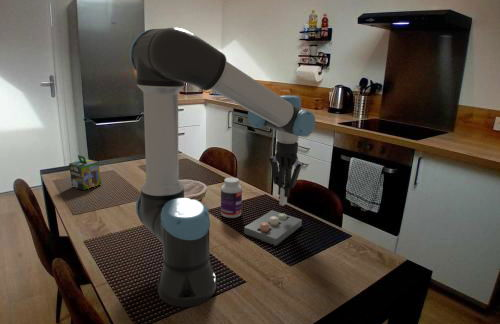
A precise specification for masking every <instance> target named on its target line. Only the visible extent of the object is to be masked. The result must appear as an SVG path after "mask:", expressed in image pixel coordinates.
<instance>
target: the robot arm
mask: <svg viewBox="0 0 500 324" xmlns="http://www.w3.org/2000/svg"><path fill="white" fill-rule="evenodd" d="M129 60H130V63H131V65H132V66H133V67H132V68H133V69H134V70H135V72H136V73H135V74H136V86H137V87H138V88H139V89H140V90H141V91H142V93H143V108H144V109H143V115H144V117H143V118H144V120H143V121H144V123H143V124H144V147H145V149H144V150H145V151H144V153H145V182H144V183H143V184H142V185H141V186H140V195H138V197H137V200H136V202H135V213H136V215H137V217H138V219H139V221H140V222H141V224H142V225H143V226H144V227H146V228H147V229H148V230H149V231H150V232H151V233H152V234H153V235H154V236H155V237H156V238H157V239H158V240H159V241H160V242H161V245H162V256H163V257H162V258H163V265H162V268H161V272H160V275H159V277H158V281H157V294H158V297H159V298H160V300H162V301H163V302H164V303H165V304H166V305H170V306H172V307H179V308H188V307H194V306H197V305H200V304H203V303H205V302H207V301H208V300H210V298H212V297H213V295H214V294H215V292H216V291H217V278H216V277H217V276H216V274H215V272H214V269H213V266H212V263H211V261H210V228H211V220H210V212H209V209H208V208H207V206H206V205H205V203H203V202H202V201H200V200H197V199H196V198H194V199H191V198H190V197H185V185H184V184H183V183H182V182H181V181H180V180H179V93H180V92H181V91H182V89H184V87H185V84H189V85H192V86H195V87H197V88H199V89H201V90H202V91H205V92H207V91H210V90H211V91H213V92H215V93H216V94H218V95H220V96H222V97H224V98H225V99H227V100H229V101H230V102H233V103H234V104H236V105H238V106H240V107H242V108H244V110H247V111H248V112H247V121H248V123H249V124H250V125H251V127H252V128H255V129H258V128H259V129H263V128H268V129H271V130H276V140H277V141H276V143H275V152H276V153H275V154H274V156H271V157H269V159H268V160H269V163H270V165H271V172H272V179H273V184H274V185H277V187H278V192H277V194H278V196H279V205H280V206H283V207H284V206H285V205H287V202H288V197H289V196H290V189H293V188H294V187H295V186H296V184H297V182H298V178H299V174H300V172H301V169H302V168H303V167H304V163H303V162H300V161H299V158H298V150H299V143H298V142H299V138H300V137H303V138H304V137H308V136H310V135H311V133H312V132H313V131H314V128H315V127H316V117H315V115H314V113H313V112H311V111H309V110H306V109H305V108H304V109H302V99H301V97H300V96H297V95H289V94H288V95H287V94H286V95H284V94H283V95H278V94H277V93H275V92H274V91H272V90H271V89H269V88H268V87H266V86H265V85H264V84H262V83H260V82H259V81H257V80H256V79H254V78H252V77H251V76H250V75H248V74H247V73H246V72H244V71H242V70H241V69H239V68H237V67H236V66H234V65H233V64H231V63H230V62H228V61H227V57H226V55H225V53H223V52H222V51H220V50H219V49H217V48H215V47H214V46H213V45H211V44H210V43H208V42H206V41H205V40H204V39H202V38H200V37H199V36H197V35H195V34H194V33H192V32H190V31H188V30H186V29H184V28H180V27H165V28H151V29H148V30H144V31H142V32H141V33H139V34H137V36H136V37H135V38H134V39H133V40H132V42H131V44H130V48H129ZM293 166H294V167H293ZM293 168H294V169H293ZM292 171H293V172H292Z"/></svg>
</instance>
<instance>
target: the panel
mask: <svg viewBox="0 0 500 324" xmlns="http://www.w3.org/2000/svg"><path fill="white" fill-rule="evenodd" d="M279 214H281V212H278V211H277V210H276V211H275V210H274V209H272V210H270V211H268V212H267V213H265V214H264V215H262V216H260V217H259V218H256V219H255V220H254V221H252V222H250V223H249V224H246V225H245V226H244V228H243V234H245V235H246V236H249V237H252V238H255V239H257V240H259V239H260V241H262V242H265V243H268V244H270V245H272V244H273V245H272V246H278V245H279V244H280V243H282V242H283V241H284V240H285V239H286V238H288V237H289V236H290V235H292V234H293V233H294V232H296V231H297V230H298V229H299V228H301V227H302V222H303V219H300V218H298V217H294V216H292V215H288V214H286V215H287V220H285V221H283V220H280V219H279V222H278V226H277V227H274V226H271V225H269V232H268V233H263V232H261V231H260V223H262V222H267V223H269V221H270V217H272V216H276V217H278V215H279Z"/></svg>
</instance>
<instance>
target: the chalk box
mask: <svg viewBox="0 0 500 324" xmlns="http://www.w3.org/2000/svg"><path fill="white" fill-rule="evenodd" d="M77 158H78V160H76V161H74V162H70V163H68V167H69V172H70V173H69V174H70V180H71V181H70V182H71V187H72V186H74V187H76V188H75V189H77V188H79V189H82V190H86V189H88V190H90V189H89V188H91V187H94V188H96V187H95V186H97V187H99V186H98V185H100V184H101V185H102V178H101V171H100V164H99V161H97V160H94V159H93V160H92V159H88V158H85V156H82V155H80V154H78V155H77ZM101 185H100V186H101ZM74 187H73V188H74ZM79 189H78V190H79ZM91 189H92V188H91ZM82 190H81V191H82ZM86 191H87V190H86Z"/></svg>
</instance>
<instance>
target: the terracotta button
mask: <svg viewBox="0 0 500 324" xmlns="http://www.w3.org/2000/svg"><path fill="white" fill-rule="evenodd" d="M269 225H270V224H269V223H267V222H262V223H260V231H261V232H263V233H268V232H269Z"/></svg>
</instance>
